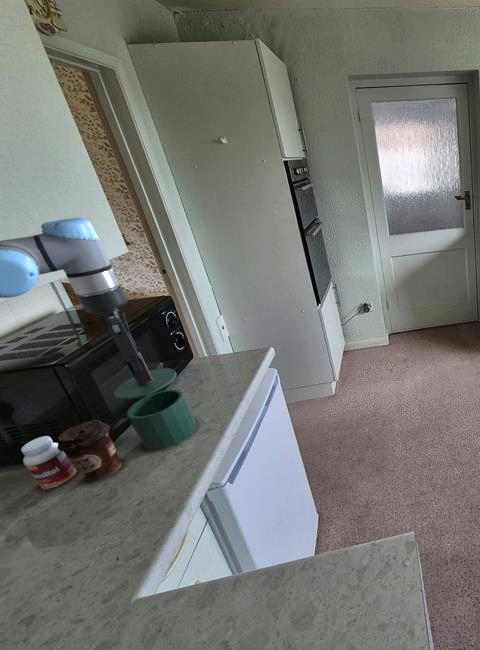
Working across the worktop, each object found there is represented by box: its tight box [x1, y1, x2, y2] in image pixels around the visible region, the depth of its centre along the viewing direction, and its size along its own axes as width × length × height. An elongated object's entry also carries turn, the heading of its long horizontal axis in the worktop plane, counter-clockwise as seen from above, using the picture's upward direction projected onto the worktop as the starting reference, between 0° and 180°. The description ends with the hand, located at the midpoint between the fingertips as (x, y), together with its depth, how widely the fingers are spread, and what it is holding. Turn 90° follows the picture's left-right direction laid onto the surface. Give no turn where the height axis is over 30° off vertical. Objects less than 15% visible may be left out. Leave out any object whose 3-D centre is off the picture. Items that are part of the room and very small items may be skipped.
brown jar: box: [57, 419, 122, 483], centre depth 87 cm, size 9×8×13 cm
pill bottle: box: [20, 435, 77, 490], centre depth 87 cm, size 6×6×11 cm
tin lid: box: [113, 350, 177, 401], centre depth 92 cm, size 12×12×9 cm
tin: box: [127, 389, 197, 451], centre depth 98 cm, size 11×11×10 cm
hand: (144, 379), depth 93 cm, fingers closed on tin lid, 3 cm apart
